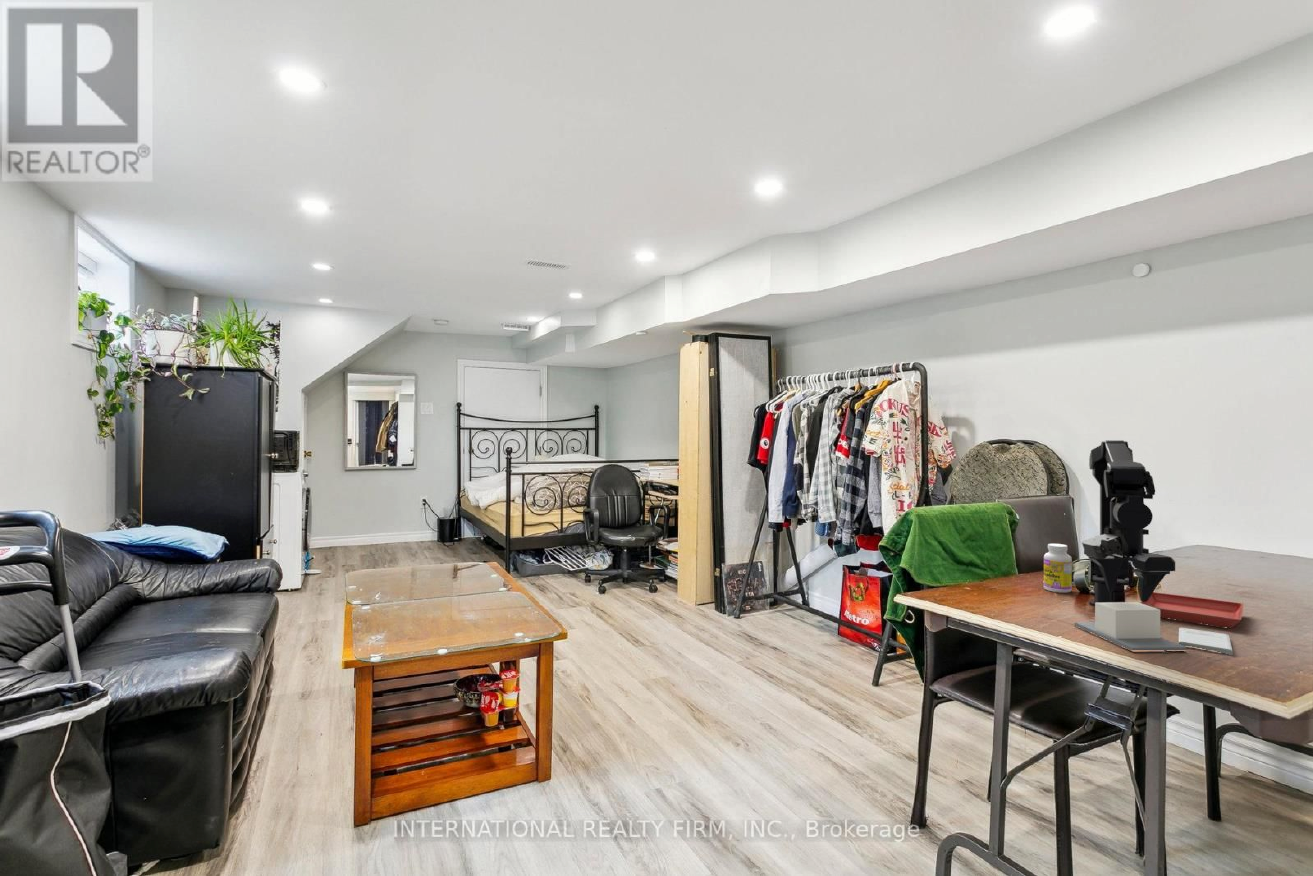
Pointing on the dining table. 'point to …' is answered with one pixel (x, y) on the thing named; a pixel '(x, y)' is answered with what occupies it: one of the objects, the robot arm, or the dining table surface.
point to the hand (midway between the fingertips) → (1126, 595)
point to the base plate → (1134, 640)
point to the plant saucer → (1196, 609)
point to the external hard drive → (1205, 640)
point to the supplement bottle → (1058, 569)
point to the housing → (1127, 620)
